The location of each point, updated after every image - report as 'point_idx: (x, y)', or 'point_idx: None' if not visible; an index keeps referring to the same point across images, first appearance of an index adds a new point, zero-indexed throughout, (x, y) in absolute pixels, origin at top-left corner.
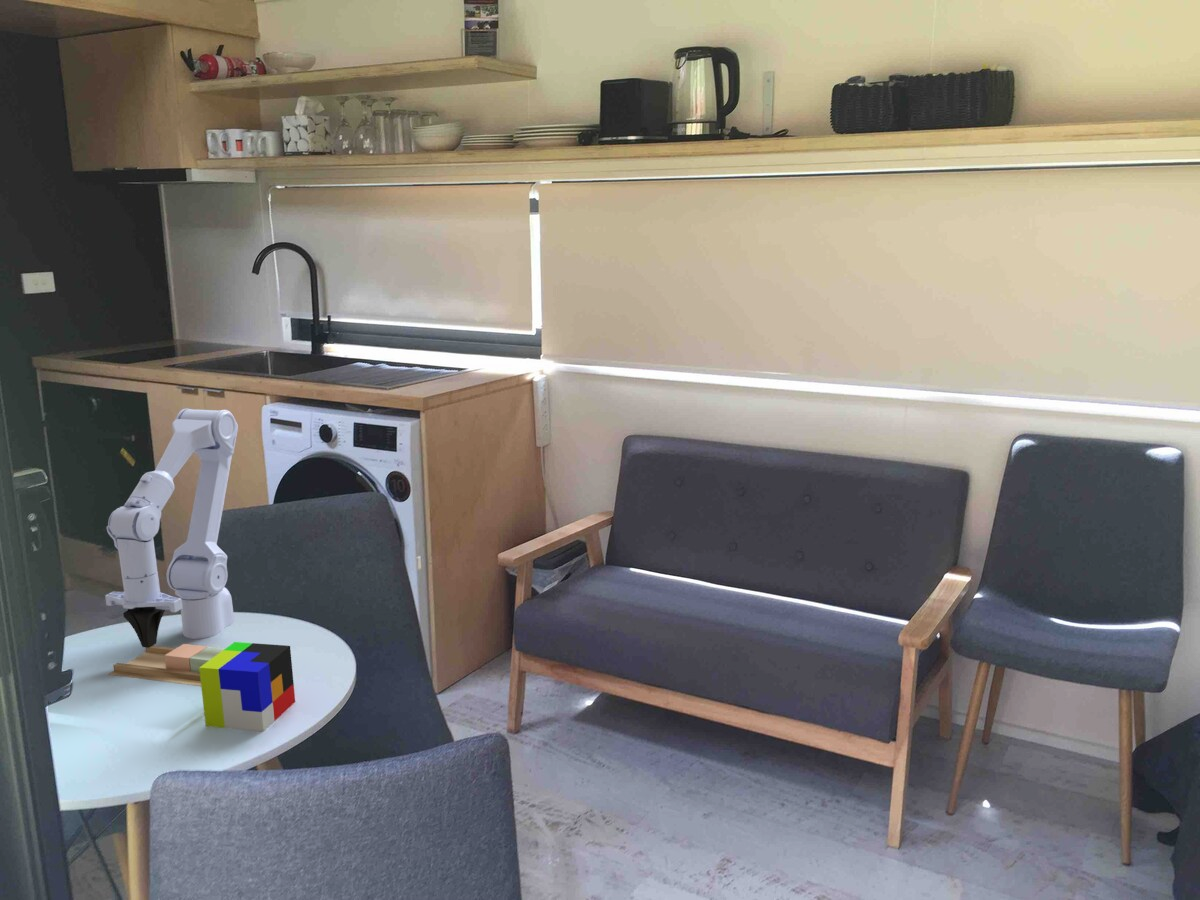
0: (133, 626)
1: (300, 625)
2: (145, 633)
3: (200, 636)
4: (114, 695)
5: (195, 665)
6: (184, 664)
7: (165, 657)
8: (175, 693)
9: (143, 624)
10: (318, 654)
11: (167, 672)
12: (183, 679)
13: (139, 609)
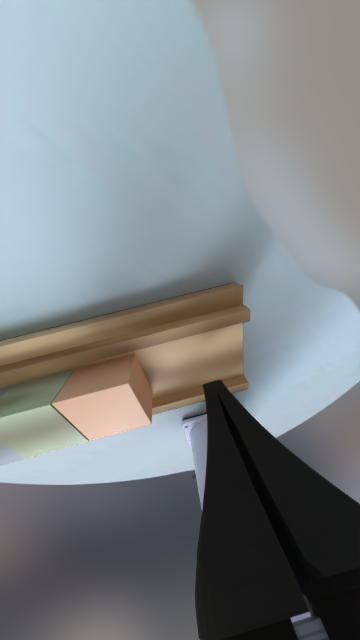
0: (271, 444)
1: (134, 477)
2: (212, 428)
3: (201, 430)
4: (156, 234)
5: (46, 391)
6: (78, 382)
7: (126, 379)
8: (41, 312)
9: (222, 482)
10: (25, 470)
11: (97, 347)
12: (58, 349)
13: (314, 598)
